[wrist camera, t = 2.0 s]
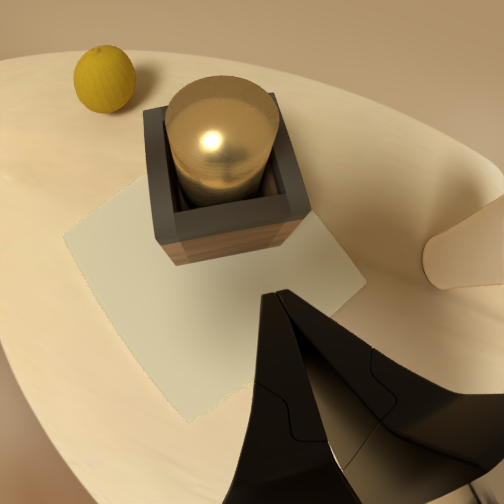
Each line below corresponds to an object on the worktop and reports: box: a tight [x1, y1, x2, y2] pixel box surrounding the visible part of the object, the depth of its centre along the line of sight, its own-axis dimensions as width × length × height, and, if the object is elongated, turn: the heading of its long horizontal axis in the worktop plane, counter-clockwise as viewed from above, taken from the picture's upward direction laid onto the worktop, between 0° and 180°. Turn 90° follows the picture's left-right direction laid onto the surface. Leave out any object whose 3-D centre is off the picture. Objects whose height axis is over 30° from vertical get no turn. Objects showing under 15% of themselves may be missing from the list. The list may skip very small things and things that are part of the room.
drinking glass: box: [423, 194, 504, 290], centre depth 18 cm, size 7×7×15 cm
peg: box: [165, 76, 279, 210], centre depth 16 cm, size 5×5×8 cm
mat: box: [62, 173, 367, 424], centre depth 23 cm, size 18×18×1 cm
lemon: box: [74, 45, 136, 113], centre depth 21 cm, size 6×6×8 cm
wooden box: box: [143, 93, 311, 266], centre depth 20 cm, size 8×8×8 cm
